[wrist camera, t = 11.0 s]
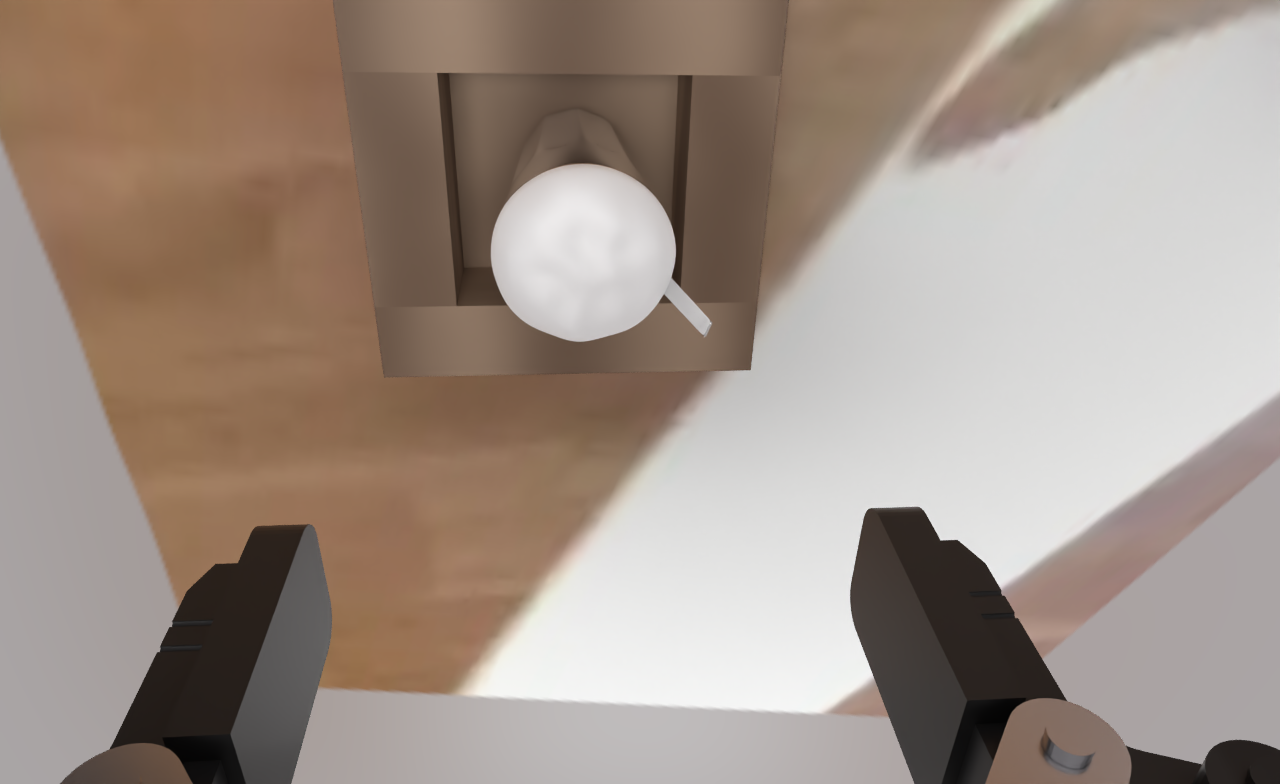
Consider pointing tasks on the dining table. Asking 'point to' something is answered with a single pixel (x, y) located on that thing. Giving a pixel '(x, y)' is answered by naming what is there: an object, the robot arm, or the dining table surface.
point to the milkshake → (584, 235)
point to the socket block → (492, 146)
